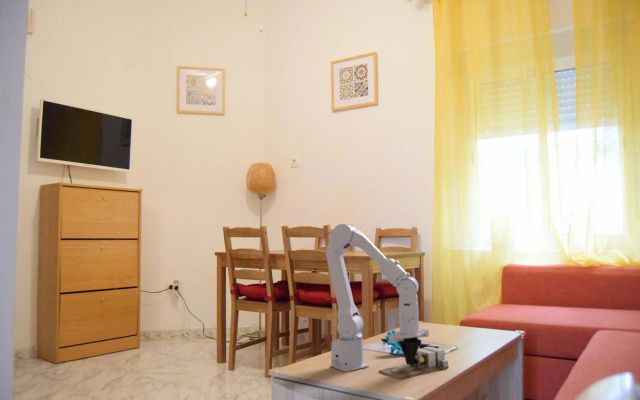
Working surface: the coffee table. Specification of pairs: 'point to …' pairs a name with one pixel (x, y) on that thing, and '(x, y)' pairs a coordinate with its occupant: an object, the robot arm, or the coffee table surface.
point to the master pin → (419, 360)
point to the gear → (394, 344)
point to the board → (408, 370)
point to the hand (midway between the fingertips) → (410, 364)
